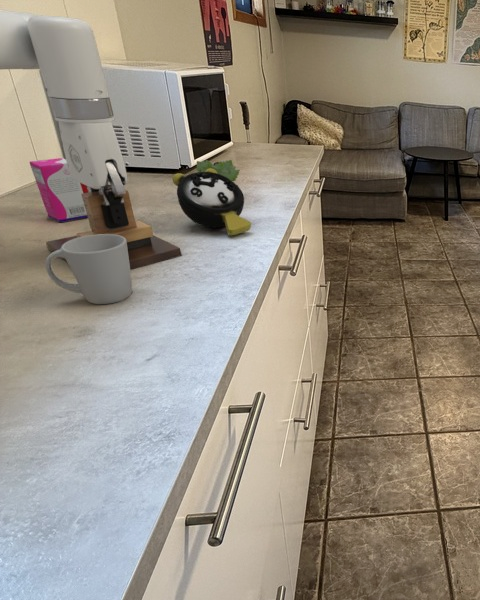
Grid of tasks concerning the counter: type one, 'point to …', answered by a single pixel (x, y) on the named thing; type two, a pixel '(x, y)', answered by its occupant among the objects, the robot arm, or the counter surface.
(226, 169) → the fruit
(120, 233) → the brush
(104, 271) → the cup
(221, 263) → the counter surface
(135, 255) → the cutting board
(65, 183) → the supplement box
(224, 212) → the alarm clock
